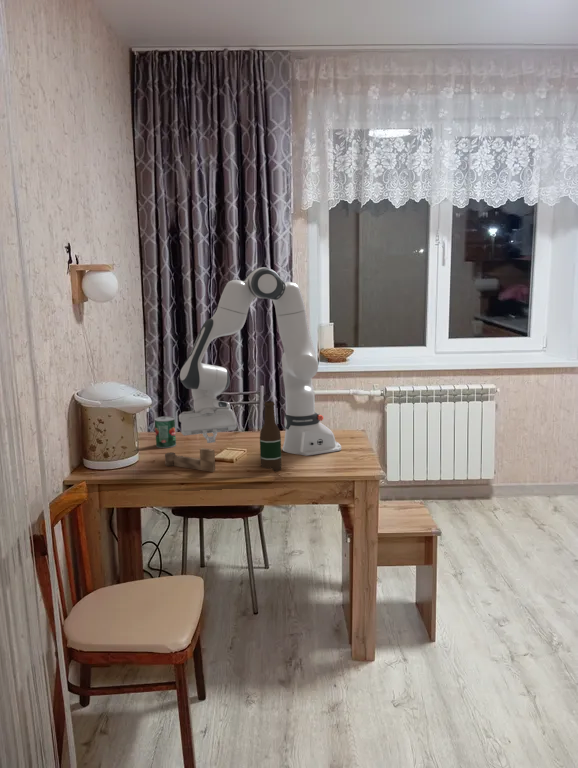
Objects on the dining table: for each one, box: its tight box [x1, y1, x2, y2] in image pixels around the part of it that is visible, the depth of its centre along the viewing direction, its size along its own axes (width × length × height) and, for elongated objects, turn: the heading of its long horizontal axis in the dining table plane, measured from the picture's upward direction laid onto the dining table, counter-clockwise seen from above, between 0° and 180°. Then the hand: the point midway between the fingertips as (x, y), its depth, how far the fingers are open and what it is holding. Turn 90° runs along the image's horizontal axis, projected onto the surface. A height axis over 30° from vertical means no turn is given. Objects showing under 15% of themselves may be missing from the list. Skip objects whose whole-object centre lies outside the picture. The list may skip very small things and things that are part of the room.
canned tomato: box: [154, 415, 177, 449], centre depth 271 cm, size 8×8×11 cm
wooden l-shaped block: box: [164, 447, 216, 473], centre depth 239 cm, size 20×9×8 cm, turn 62°
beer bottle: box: [259, 400, 282, 473], centre depth 236 cm, size 8×8×24 cm
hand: (211, 441), depth 244 cm, fingers closed
